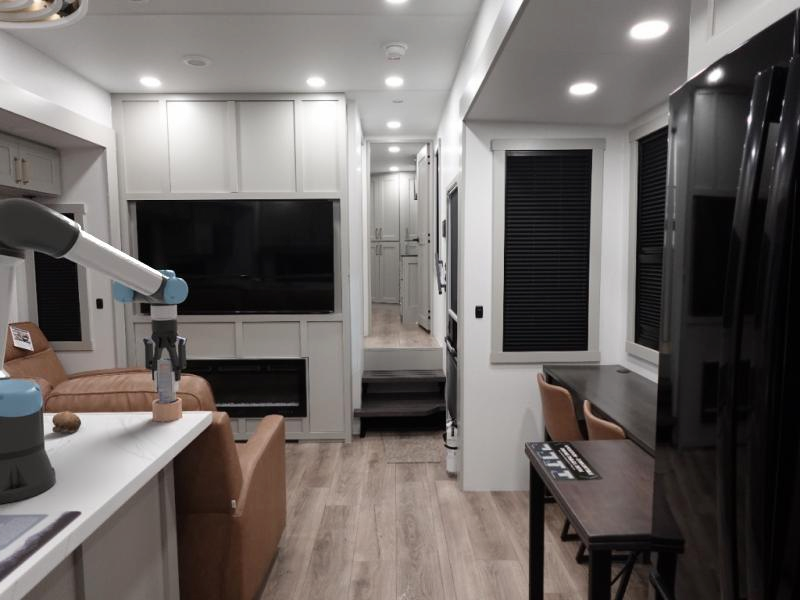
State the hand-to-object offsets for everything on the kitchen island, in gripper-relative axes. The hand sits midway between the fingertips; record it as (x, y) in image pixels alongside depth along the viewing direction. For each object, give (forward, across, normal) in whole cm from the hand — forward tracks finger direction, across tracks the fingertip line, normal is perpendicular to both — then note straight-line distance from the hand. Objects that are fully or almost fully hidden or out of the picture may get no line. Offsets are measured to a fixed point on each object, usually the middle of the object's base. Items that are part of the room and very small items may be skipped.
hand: (166, 390), depth 166 cm
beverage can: (+5, 0, 0) cm, 5 cm away
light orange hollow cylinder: (+9, 0, 0) cm, 9 cm away
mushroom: (+9, +22, +16) cm, 29 cm away
